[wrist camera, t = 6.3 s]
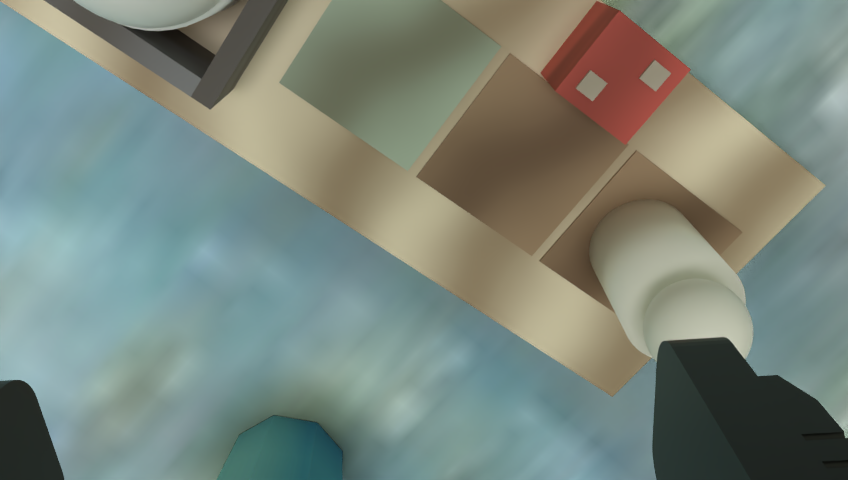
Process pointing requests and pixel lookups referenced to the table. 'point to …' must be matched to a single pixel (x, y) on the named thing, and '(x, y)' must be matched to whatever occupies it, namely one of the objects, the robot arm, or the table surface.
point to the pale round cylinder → (156, 12)
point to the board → (468, 139)
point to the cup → (284, 453)
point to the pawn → (667, 279)
